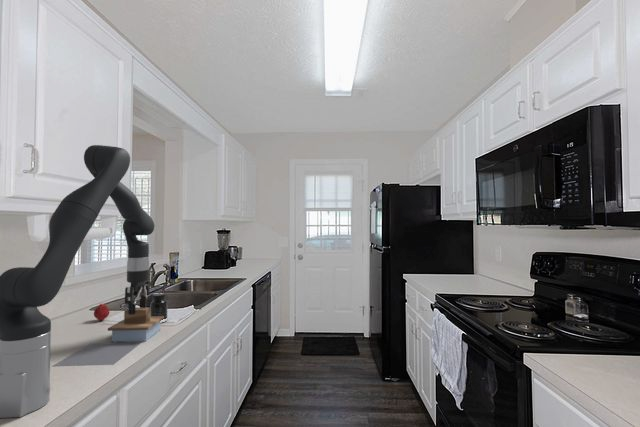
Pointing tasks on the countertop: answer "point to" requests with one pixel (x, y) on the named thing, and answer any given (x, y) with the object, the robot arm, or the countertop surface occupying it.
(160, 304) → the supplement bottle
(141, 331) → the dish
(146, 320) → the lid
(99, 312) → the red bumpy ovoid
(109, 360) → the mat
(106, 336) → the countertop surface
